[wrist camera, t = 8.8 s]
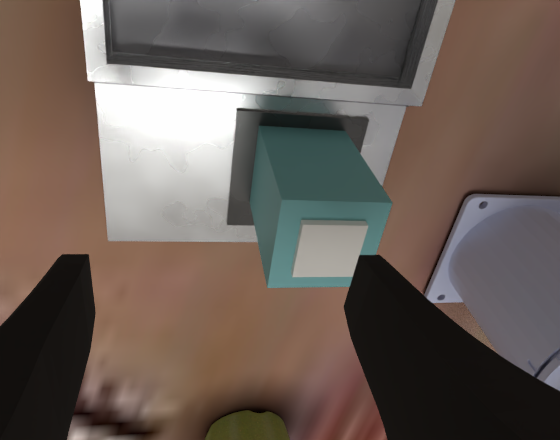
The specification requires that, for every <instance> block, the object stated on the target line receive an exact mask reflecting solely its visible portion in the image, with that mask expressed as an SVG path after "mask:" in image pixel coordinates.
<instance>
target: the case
mask: <svg viewBox="0 0 560 440" xmlns="http://www.w3.org/2000/svg"><path fill="white" fill-rule="evenodd" d="M80 3H81V14H82V24H83V35H84V45H85V56H86V67H87V77H88V81H95V82H108V83H121V84H135V85H148V86H161V87H174V88H187V89H200V90H213V91H226V92H240V93H253V94H266V95H279V96H292V97H305V98H318V99H332V100H345V101H358V102H371V103H384V104H397V105H410V106H422V103H423V100H424V97H425V94H426V91H427V88H428V84H429V81H430V78H431V75H432V72H433V69H434V66H435V63H436V60H437V56H438V53H439V50H440V47H441V44H442V41H443V38H444V35H445V32H446V28H447V25H448V22H449V19H450V16H451V13H452V10H453V7H454V4H455V0H80Z"/></svg>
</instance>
